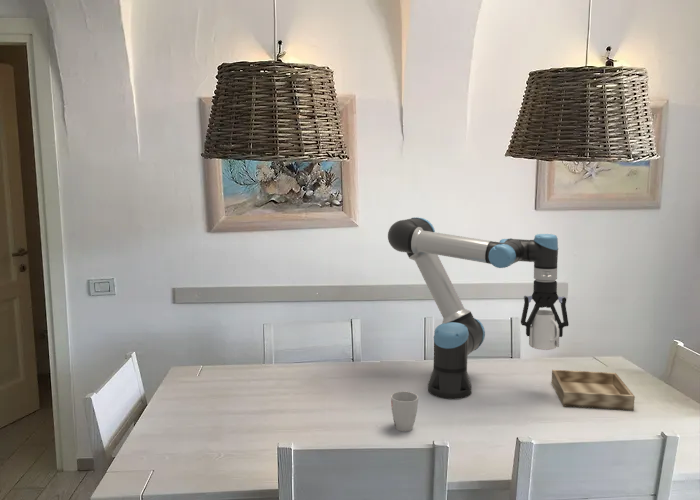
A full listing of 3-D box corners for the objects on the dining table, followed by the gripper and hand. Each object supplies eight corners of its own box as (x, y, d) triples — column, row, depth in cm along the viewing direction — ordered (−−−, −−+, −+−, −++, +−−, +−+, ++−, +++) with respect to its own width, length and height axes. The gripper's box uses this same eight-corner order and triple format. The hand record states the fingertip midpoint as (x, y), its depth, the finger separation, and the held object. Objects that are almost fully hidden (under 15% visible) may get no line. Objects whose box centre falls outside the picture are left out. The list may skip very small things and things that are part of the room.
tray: (563, 406, 200) (564, 392, 199) (551, 382, 222) (552, 369, 221) (633, 410, 197) (634, 396, 196) (614, 386, 218) (615, 372, 218)
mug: (567, 351, 203) (568, 316, 201) (544, 353, 200) (545, 318, 199) (547, 341, 214) (547, 308, 212) (525, 344, 212) (526, 310, 210)
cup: (400, 419, 190) (401, 389, 188) (422, 427, 185) (423, 395, 183) (385, 428, 184) (385, 397, 182) (407, 436, 179) (408, 404, 177)
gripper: (514, 281, 202) (513, 347, 205) (580, 282, 199) (578, 349, 202) (512, 277, 210) (511, 341, 213) (575, 278, 206) (573, 343, 209)
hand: (543, 345), depth 207 cm, fingers closed on mug, 8 cm apart
